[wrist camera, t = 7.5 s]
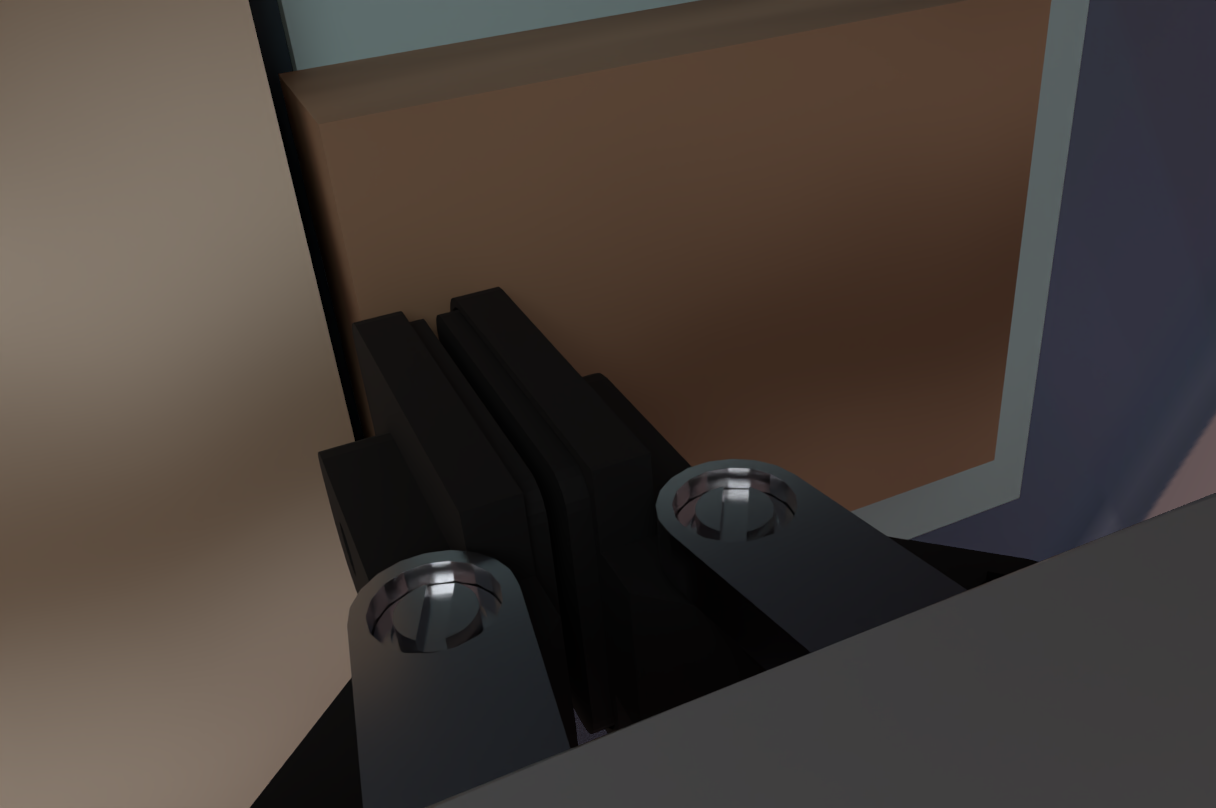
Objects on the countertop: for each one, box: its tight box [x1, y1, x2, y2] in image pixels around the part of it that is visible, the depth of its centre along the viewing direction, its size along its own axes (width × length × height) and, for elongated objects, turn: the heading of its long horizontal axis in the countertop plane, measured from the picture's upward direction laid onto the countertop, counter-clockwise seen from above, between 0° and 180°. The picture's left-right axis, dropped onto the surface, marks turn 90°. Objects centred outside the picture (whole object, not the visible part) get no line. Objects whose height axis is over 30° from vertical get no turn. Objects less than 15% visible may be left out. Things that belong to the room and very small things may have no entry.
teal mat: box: [277, 0, 1089, 540], centre depth 16 cm, size 14×12×1 cm
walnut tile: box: [278, 0, 1051, 512], centre depth 14 cm, size 7×9×2 cm
